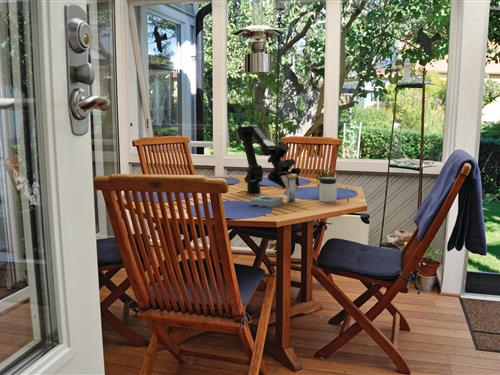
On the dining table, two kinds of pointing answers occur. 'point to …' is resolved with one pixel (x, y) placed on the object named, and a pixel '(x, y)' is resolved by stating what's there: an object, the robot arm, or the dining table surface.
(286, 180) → the teacup with lid
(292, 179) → the pin
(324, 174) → the house plant
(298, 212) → the dining table surface
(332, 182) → the jar
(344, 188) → the dining table surface
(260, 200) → the socket block
